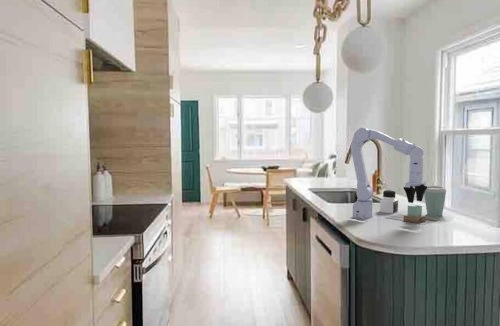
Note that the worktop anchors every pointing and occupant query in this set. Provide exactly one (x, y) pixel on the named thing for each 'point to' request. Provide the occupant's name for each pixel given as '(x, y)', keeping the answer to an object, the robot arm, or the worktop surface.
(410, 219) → the stacking base
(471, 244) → the worktop surface
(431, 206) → the disposable coffee cup
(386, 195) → the medicine bottle
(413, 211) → the green cube
